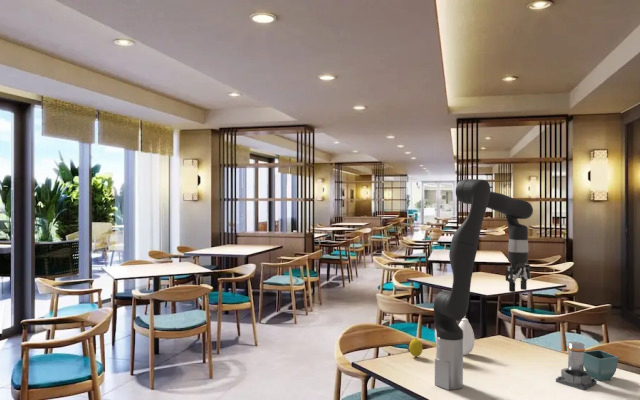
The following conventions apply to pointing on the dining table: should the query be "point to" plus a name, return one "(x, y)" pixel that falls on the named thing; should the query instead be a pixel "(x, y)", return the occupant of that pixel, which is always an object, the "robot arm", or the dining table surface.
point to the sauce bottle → (467, 336)
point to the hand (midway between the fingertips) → (517, 290)
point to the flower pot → (600, 364)
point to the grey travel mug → (576, 358)
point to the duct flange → (576, 380)
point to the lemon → (415, 347)
